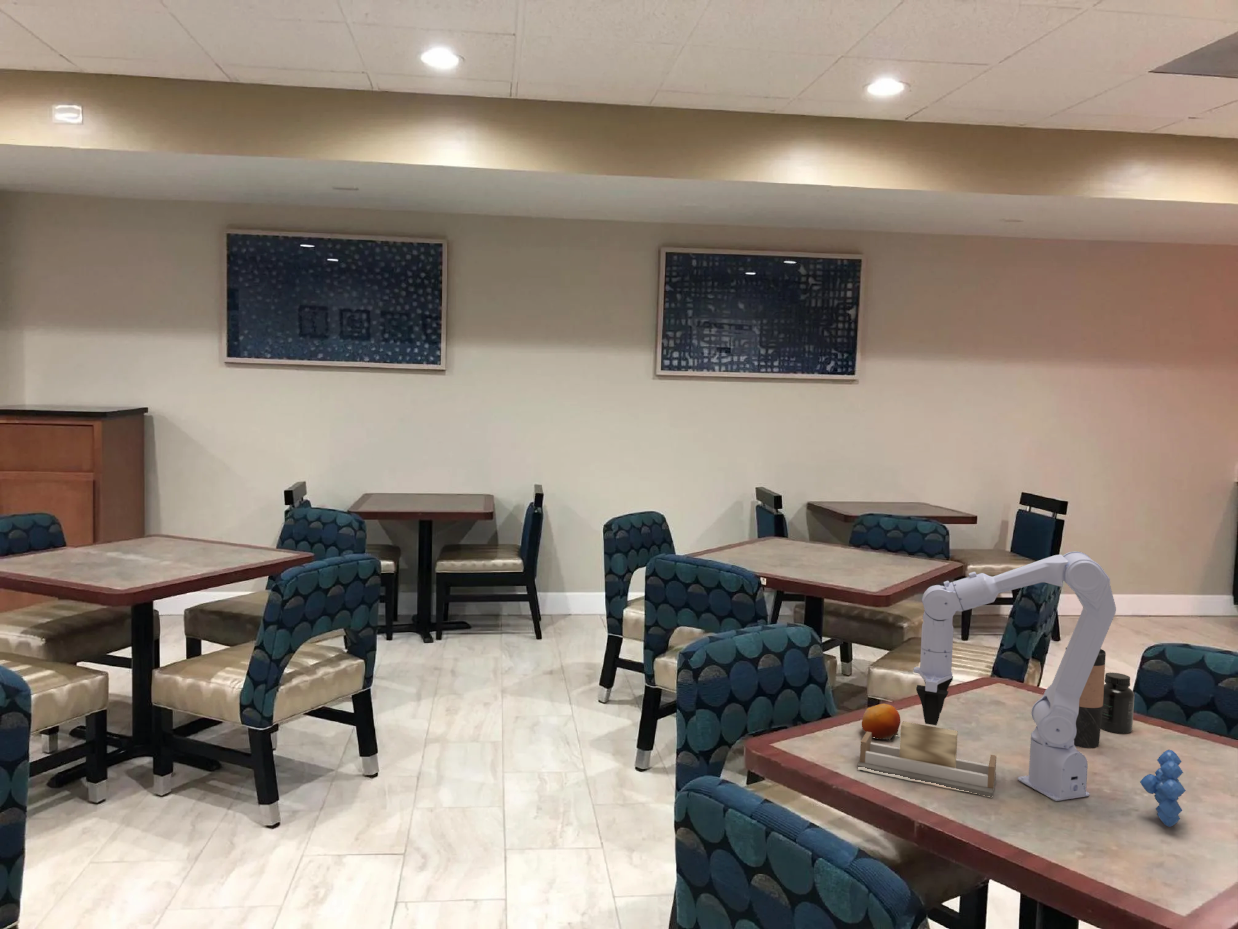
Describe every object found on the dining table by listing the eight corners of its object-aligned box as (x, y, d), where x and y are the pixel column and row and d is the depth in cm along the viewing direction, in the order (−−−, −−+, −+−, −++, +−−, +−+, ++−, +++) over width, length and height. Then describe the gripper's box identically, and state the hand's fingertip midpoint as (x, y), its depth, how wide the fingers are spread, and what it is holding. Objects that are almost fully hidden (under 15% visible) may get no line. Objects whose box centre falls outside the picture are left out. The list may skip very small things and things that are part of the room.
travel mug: (1107, 749, 182) (1113, 655, 180) (1070, 748, 182) (1076, 654, 180) (1088, 735, 189) (1094, 644, 188) (1053, 734, 189) (1058, 643, 188)
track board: (995, 777, 166) (997, 752, 166) (992, 798, 157) (993, 771, 157) (867, 752, 177) (868, 728, 177) (857, 770, 168) (858, 745, 168)
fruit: (901, 741, 179) (883, 704, 181) (868, 752, 184) (851, 716, 186) (914, 730, 186) (896, 695, 188) (882, 741, 190) (865, 706, 192)
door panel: (955, 772, 166) (957, 731, 165) (954, 777, 164) (956, 735, 163) (901, 761, 171) (903, 721, 170) (899, 765, 168) (900, 725, 168)
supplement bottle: (1119, 723, 197) (1123, 671, 196) (1138, 734, 191) (1142, 680, 190) (1090, 722, 197) (1093, 670, 196) (1108, 734, 190) (1111, 680, 189)
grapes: (1135, 801, 158) (1139, 736, 157) (1179, 810, 154) (1184, 744, 154) (1139, 828, 147) (1144, 759, 146) (1187, 838, 144) (1192, 768, 143)
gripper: (919, 637, 176) (916, 703, 177) (909, 655, 163) (906, 726, 164) (956, 642, 173) (953, 708, 174) (949, 660, 160) (946, 733, 161)
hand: (933, 717), depth 168 cm, fingers open, 7 cm apart
